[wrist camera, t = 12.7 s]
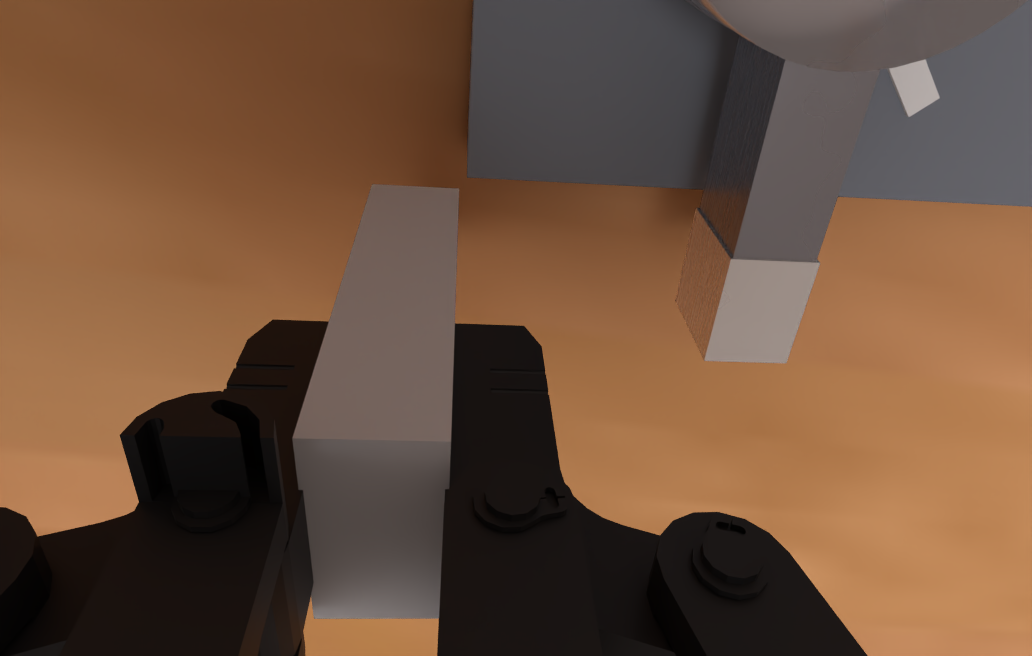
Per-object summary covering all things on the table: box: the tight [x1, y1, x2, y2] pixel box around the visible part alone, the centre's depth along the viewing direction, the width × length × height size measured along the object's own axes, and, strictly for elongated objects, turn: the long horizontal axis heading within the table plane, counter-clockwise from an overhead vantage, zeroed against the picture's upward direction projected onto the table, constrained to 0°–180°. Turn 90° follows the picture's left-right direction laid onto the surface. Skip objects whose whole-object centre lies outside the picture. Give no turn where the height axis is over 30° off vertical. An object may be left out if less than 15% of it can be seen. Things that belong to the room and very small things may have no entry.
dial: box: [675, 0, 1028, 363], centre depth 11 cm, size 11×6×3 cm, turn 176°
